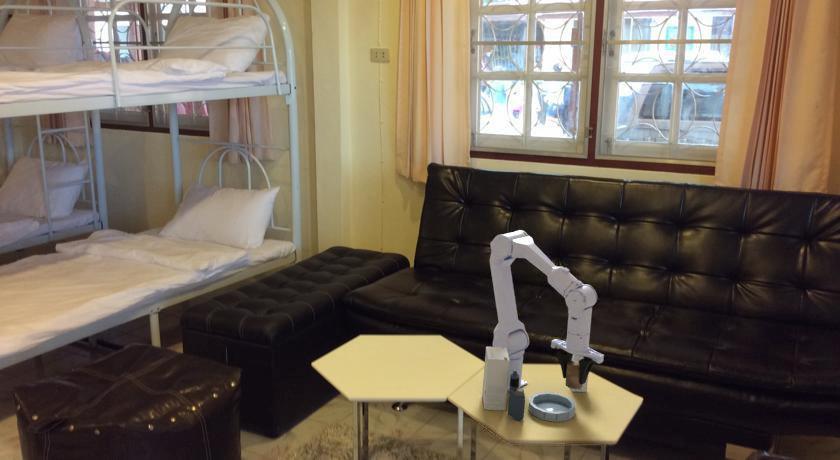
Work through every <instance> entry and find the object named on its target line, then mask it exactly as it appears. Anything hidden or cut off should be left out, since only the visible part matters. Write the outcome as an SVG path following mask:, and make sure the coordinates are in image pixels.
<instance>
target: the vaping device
mask: <svg viewBox="0 0 840 460" xmlns="http://www.w3.org/2000/svg"><path fill="white" fill-rule="evenodd" d="M510 378H511V379H510V388H509V390H508V401H507V405H508V406H507V415H508V416H509V417H510V418H511V419H513V420H514V421H516V422H521V421H523V420H524V417H525V409H526V408H525V407H526V406H525V405H526V395H525V389H524V388H523V387H520V388H519V374H517V371H513V374H511V375H510Z"/></svg>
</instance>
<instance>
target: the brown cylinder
mask: <svg viewBox="0 0 840 460" xmlns="http://www.w3.org/2000/svg"><path fill="white" fill-rule="evenodd" d="M579 378H580V367H579V361H569V362H567V372H566V378H565V387H567V388H569V389H571V388H572V389H580V388H582V386H583V384H582V385H581V384H579Z"/></svg>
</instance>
